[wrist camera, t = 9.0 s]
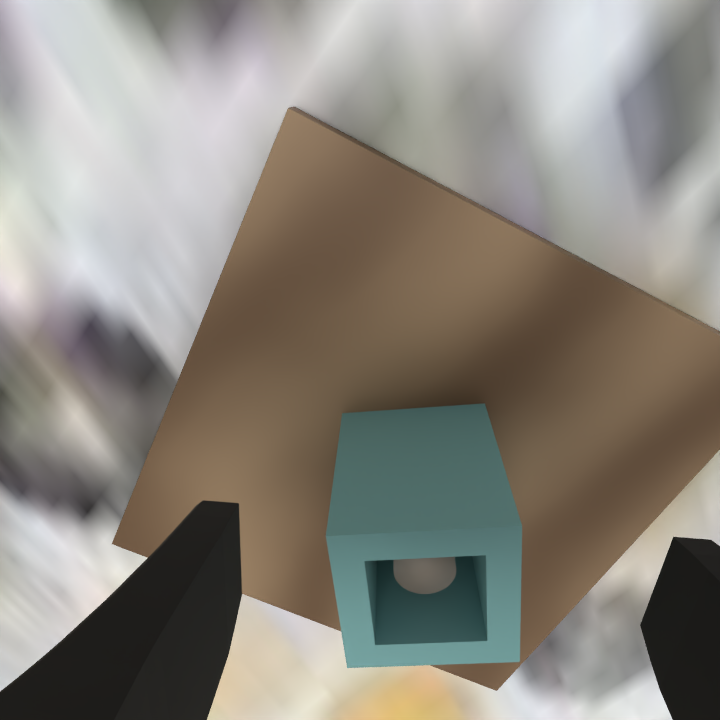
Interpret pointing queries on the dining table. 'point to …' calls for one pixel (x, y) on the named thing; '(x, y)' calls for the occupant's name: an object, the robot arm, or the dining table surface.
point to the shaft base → (422, 380)
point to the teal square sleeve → (424, 538)
